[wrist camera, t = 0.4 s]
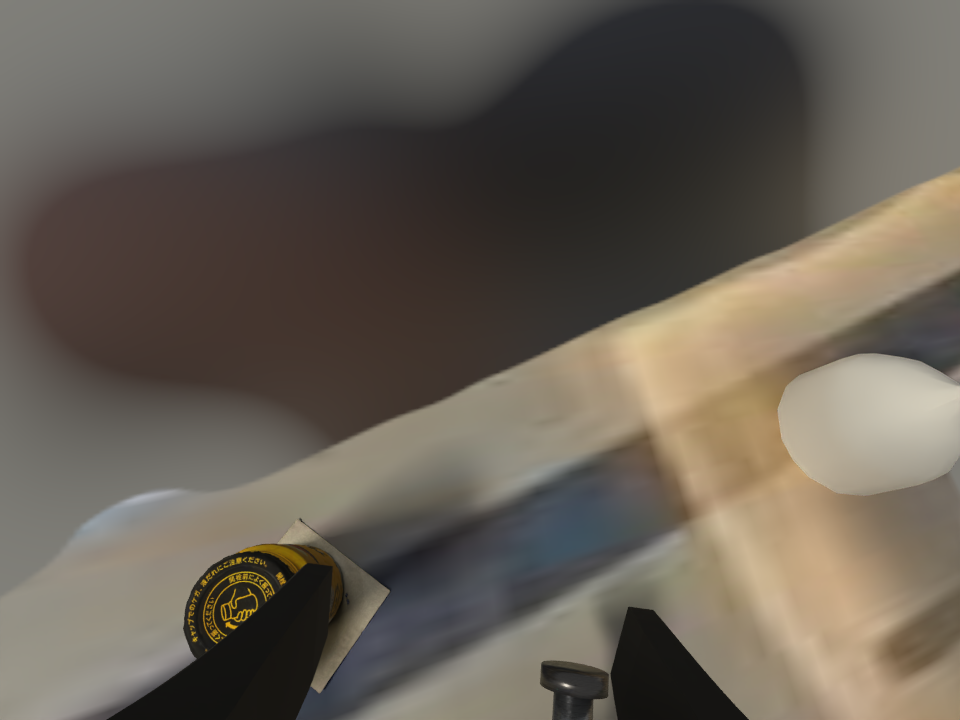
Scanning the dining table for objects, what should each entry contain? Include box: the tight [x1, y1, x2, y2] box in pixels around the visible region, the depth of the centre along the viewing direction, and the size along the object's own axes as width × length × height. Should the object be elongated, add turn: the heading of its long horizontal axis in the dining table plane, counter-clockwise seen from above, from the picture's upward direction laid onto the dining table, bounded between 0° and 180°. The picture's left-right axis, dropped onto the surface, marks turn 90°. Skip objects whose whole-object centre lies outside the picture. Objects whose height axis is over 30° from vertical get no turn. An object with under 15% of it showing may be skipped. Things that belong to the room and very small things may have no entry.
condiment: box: [183, 519, 390, 693], centre depth 29 cm, size 7×8×12 cm
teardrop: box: [777, 353, 960, 496], centre depth 37 cm, size 11×11×12 cm
